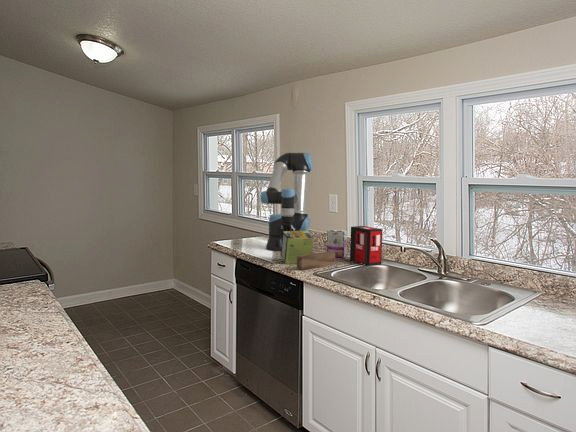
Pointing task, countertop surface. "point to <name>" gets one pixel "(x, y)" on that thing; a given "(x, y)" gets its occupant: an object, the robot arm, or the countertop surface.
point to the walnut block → (315, 260)
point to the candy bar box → (337, 242)
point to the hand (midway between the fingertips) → (286, 255)
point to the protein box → (295, 245)
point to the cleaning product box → (366, 245)
